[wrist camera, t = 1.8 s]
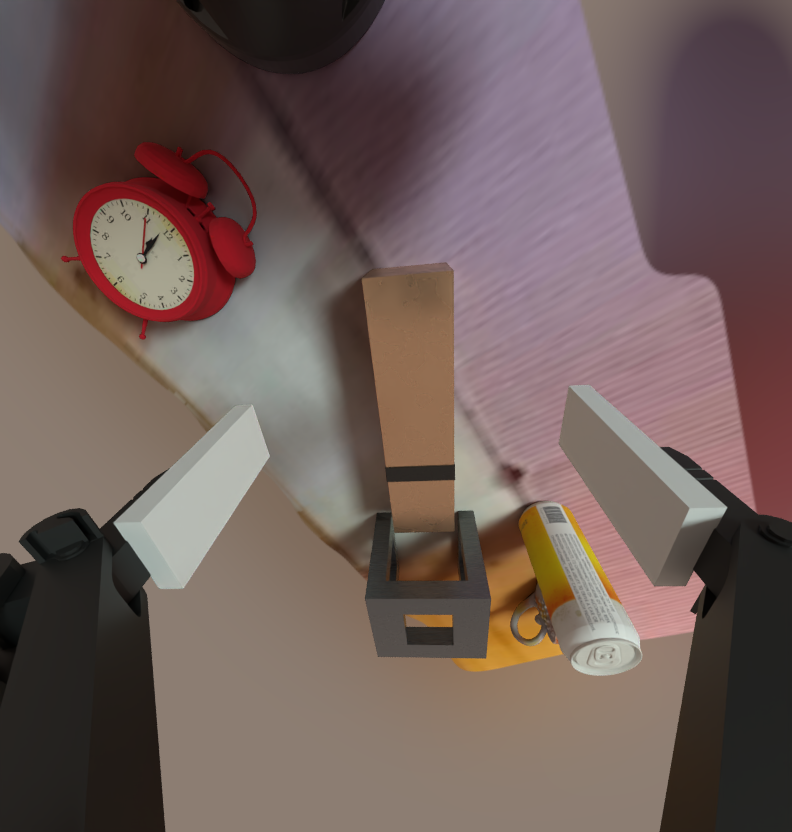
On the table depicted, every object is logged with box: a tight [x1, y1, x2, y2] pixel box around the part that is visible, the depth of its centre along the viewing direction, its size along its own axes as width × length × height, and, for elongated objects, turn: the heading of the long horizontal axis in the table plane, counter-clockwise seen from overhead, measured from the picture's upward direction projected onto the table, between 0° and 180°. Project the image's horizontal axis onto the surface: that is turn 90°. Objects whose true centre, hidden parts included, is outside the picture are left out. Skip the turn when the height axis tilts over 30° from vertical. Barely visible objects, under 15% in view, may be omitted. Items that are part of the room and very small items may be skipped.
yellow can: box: [519, 501, 642, 676], centre depth 33 cm, size 6×6×15 cm
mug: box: [510, 583, 559, 646], centre depth 43 cm, size 12×7×7 cm, turn 129°
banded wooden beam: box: [362, 262, 455, 533], centre depth 30 cm, size 24×6×6 cm, turn 5°
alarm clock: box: [61, 142, 257, 339], centre depth 25 cm, size 10×6×15 cm
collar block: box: [365, 511, 491, 658], centre depth 38 cm, size 10×12×11 cm
